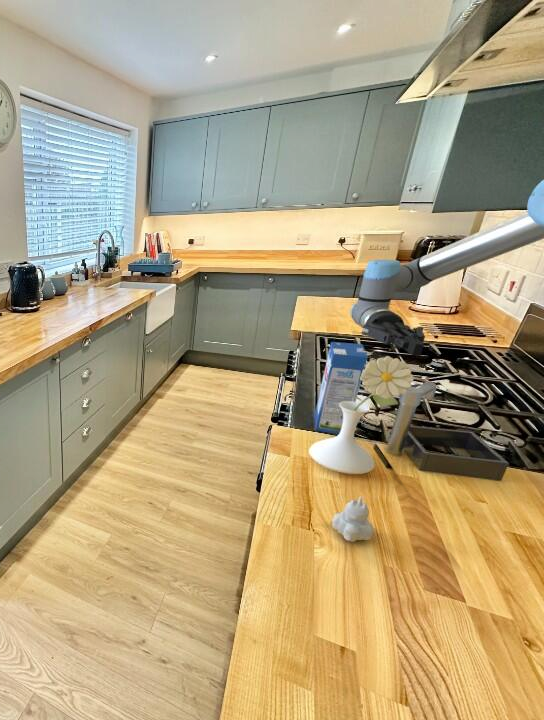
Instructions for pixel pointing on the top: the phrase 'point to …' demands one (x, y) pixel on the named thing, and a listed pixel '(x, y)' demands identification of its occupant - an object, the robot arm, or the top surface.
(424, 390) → the spout
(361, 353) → the milk carton
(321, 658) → the top surface
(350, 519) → the grey creature figurine
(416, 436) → the dark grey open tray
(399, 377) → the flower in vase
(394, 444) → the faucet base
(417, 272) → the robot arm
